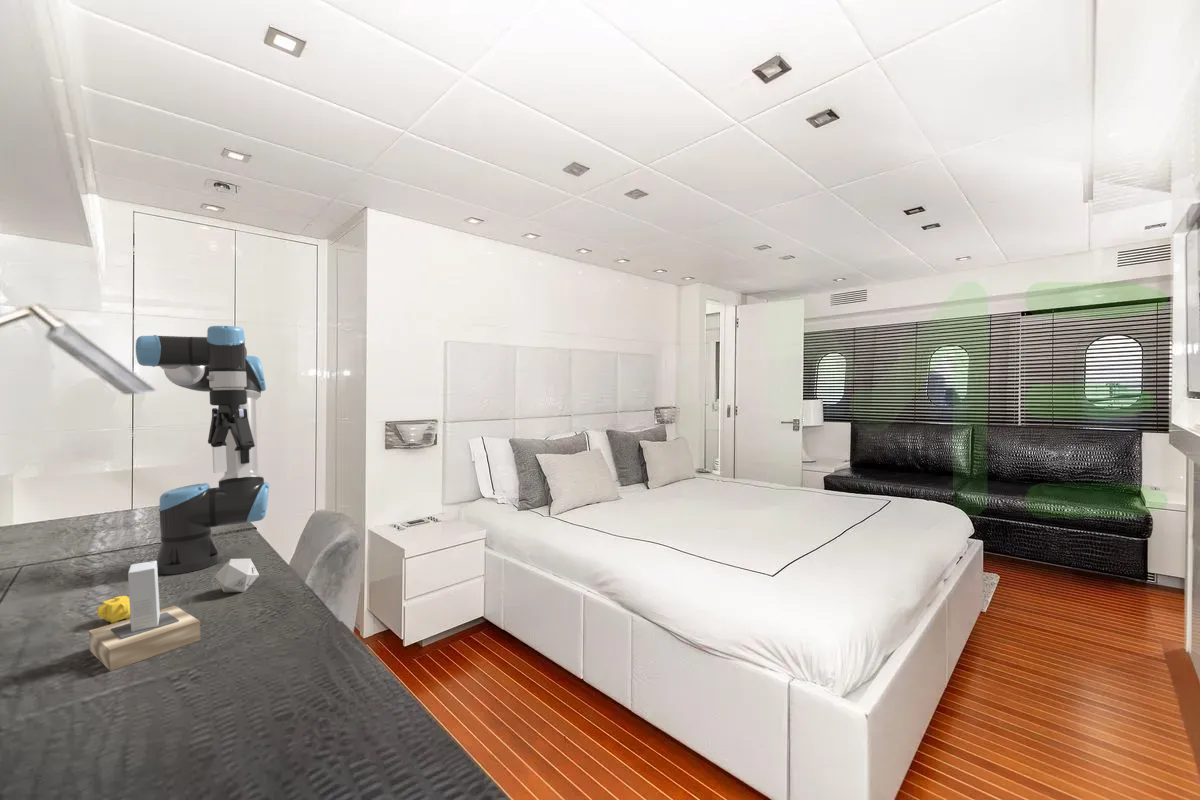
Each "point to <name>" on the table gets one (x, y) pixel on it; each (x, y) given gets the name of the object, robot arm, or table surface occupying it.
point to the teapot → (115, 609)
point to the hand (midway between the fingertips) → (231, 474)
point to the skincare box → (143, 595)
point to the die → (237, 575)
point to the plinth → (143, 638)
